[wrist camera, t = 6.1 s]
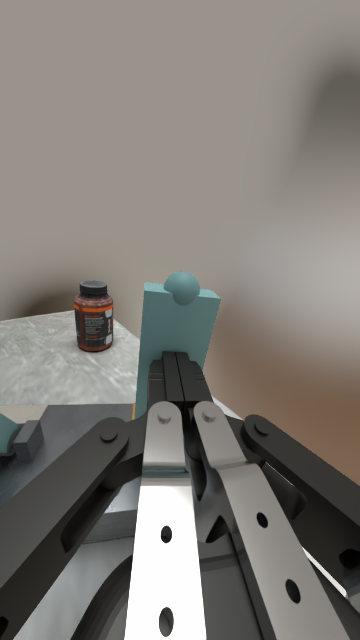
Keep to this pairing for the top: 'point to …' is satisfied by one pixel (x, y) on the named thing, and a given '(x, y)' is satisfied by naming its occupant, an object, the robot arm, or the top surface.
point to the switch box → (54, 439)
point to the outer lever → (174, 325)
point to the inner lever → (8, 435)
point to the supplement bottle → (94, 316)
